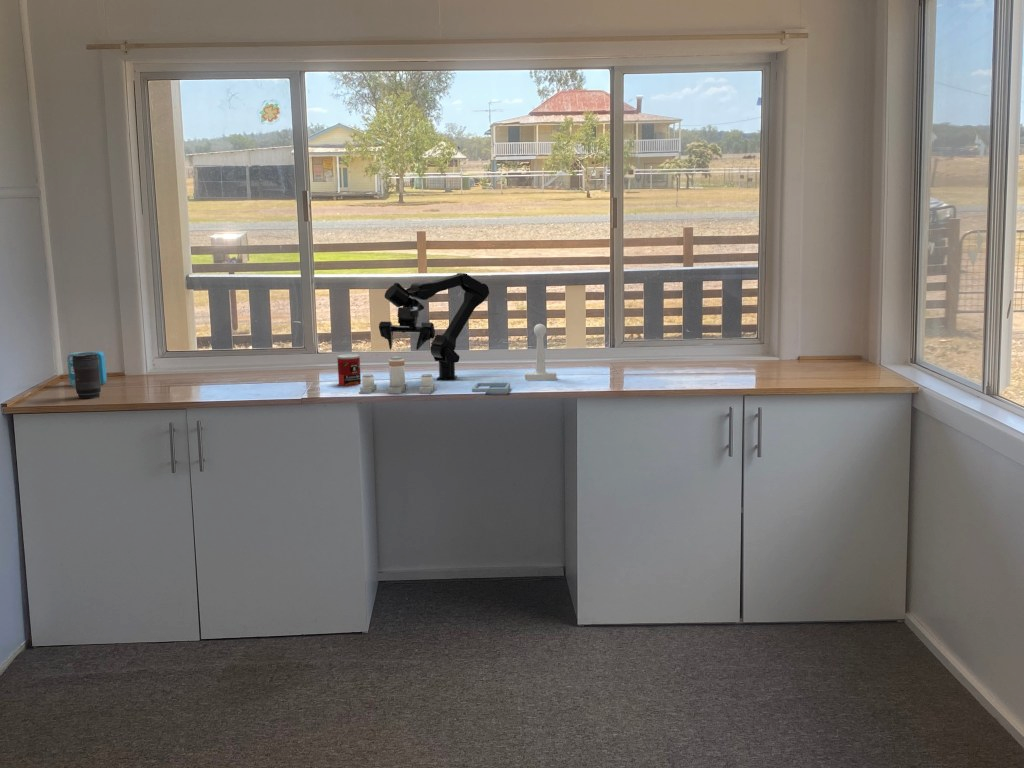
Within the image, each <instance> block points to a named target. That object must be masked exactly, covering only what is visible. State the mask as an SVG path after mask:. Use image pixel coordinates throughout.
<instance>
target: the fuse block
mask: <svg viewBox="0 0 1024 768" xmlns="http://www.w3.org/2000/svg"><path fill="white" fill-rule="evenodd" d="M377 386H378V385H377V383H374V388H375V391H374V392H372V387H362V386H361V387H360V388H359V392H358V394H389V395H390V394H396V395H397V394H400V395H401V394H434V393H435V392H436V390H438V389H436V388H435V387H436V385H435V383H433V392H431V387H421V386H420V387H419V388H409V389H408V383H405V392H402V387H390V386H389V387H388V388H380V389H379V388H377Z"/></svg>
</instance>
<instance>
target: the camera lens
mask: <svg viewBox="0 0 1024 768" xmlns="http://www.w3.org/2000/svg"><path fill="white" fill-rule="evenodd" d="M85 352H86V353H78V354H74V355H73V358H72V360H73V369H74V374H75V386H76V387H75V390H76V394H77V396H78V397H79V398H78V399H80V398H91V399H96V398H95V397H97V398H100V397H99V396H100V395H101V387H102V385H101V384H100V376H99V361H98V356H97V353H95V352H96V351H85Z"/></svg>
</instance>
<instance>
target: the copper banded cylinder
mask: <svg viewBox="0 0 1024 768" xmlns="http://www.w3.org/2000/svg"><path fill="white" fill-rule="evenodd" d="M405 362H406V361H405V357H404V356H403V355H394V356H393V355H392V356H389V358H388V368H389V370H388V371H389V387H402V392H405V384H406V377H405V373H406V372H405V365H406V363H405Z"/></svg>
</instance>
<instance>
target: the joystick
mask: <svg viewBox="0 0 1024 768" xmlns="http://www.w3.org/2000/svg"><path fill="white" fill-rule="evenodd" d="M533 332H534V335H535V336H536V354H535V371H534V372H525V373H524V380H546V381H555V380H554V379H556V380H557V372H556V371H552V372H551V371H549V372H546V371H547V370H546V357H545V344H544V343H545V342H544V337H545V335H546V333H547V328H546V325H544V324H542V323H537V324H535V326H534V327H533Z"/></svg>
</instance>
